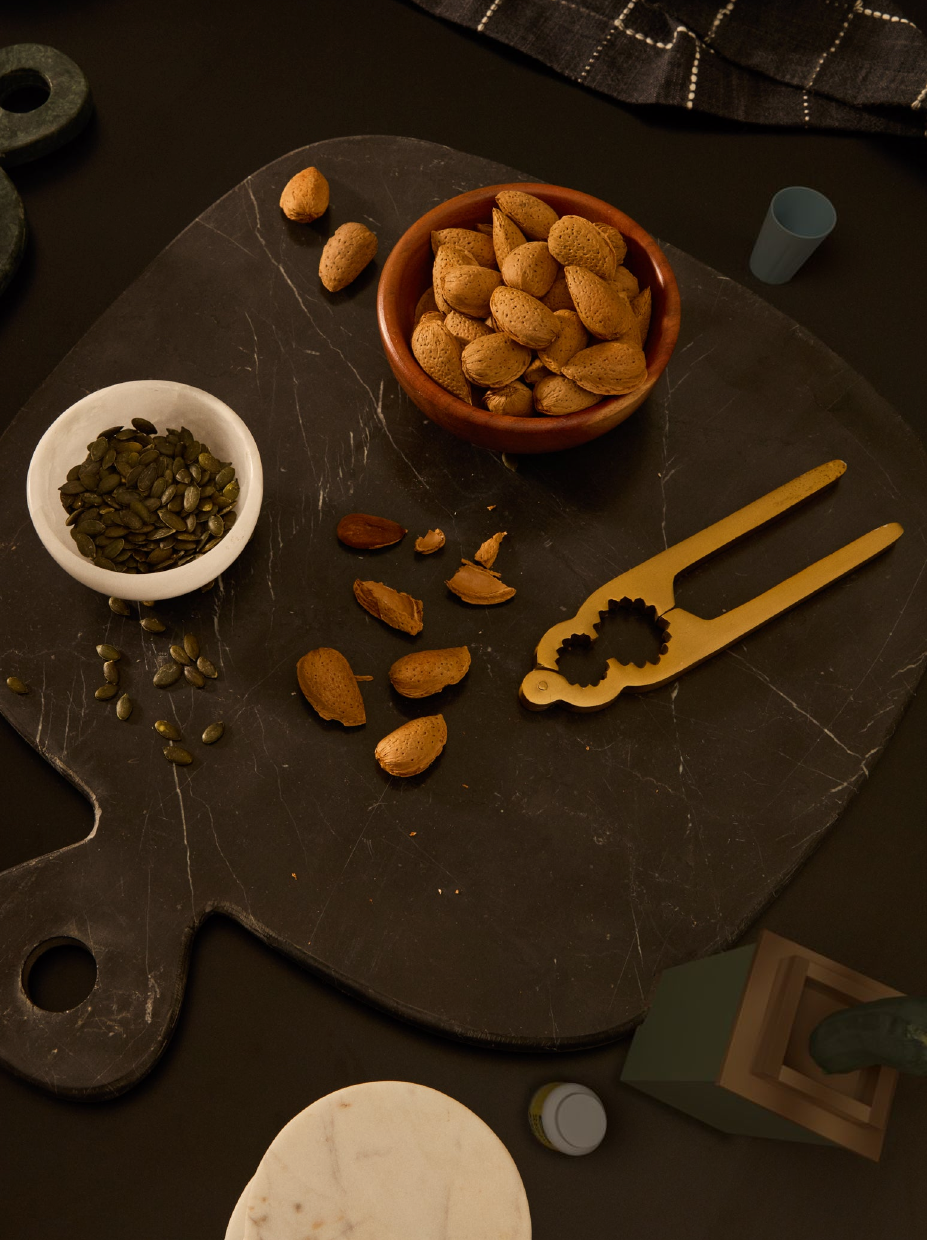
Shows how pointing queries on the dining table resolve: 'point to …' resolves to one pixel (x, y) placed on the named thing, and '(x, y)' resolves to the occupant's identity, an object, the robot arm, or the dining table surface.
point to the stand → (701, 1048)
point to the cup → (791, 233)
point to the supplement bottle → (567, 1118)
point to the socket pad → (805, 1047)
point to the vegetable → (873, 1037)
